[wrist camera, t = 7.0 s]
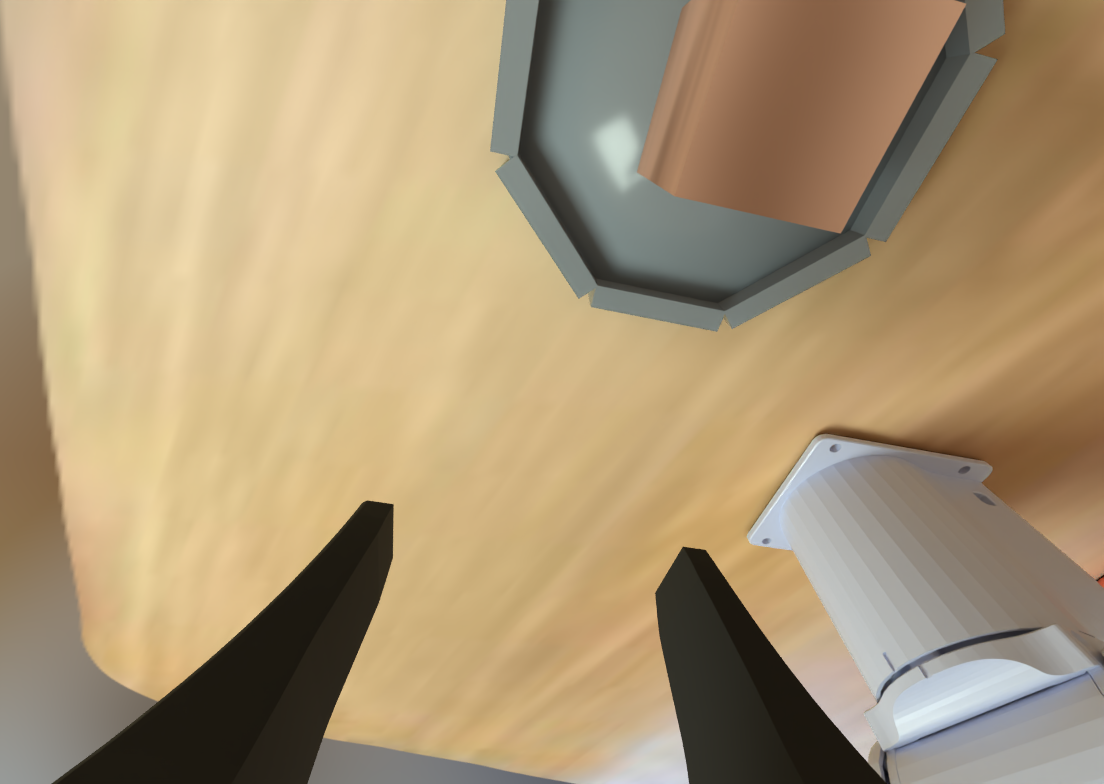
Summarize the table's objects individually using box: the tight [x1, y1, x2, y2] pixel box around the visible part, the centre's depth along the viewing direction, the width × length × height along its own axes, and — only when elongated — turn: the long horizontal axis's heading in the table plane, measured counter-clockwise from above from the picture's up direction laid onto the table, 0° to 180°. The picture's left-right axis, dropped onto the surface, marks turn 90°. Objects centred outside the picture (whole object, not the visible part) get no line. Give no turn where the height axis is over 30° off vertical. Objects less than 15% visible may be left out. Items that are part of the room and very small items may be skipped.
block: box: [637, 0, 966, 234], centre depth 10 cm, size 4×4×5 cm
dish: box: [490, 0, 1005, 331], centre depth 13 cm, size 13×13×2 cm
